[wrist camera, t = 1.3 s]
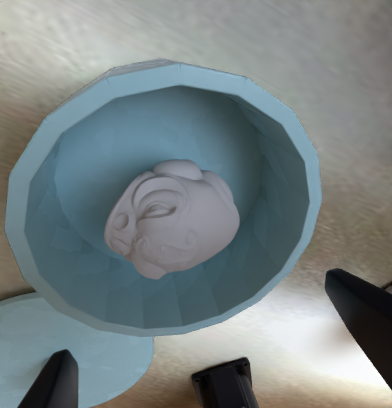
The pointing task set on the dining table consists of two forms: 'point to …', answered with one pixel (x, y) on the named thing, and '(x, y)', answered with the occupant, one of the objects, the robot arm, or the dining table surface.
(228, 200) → the grey carved lump
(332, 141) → the dining table surface
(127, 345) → the lid
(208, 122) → the pot
